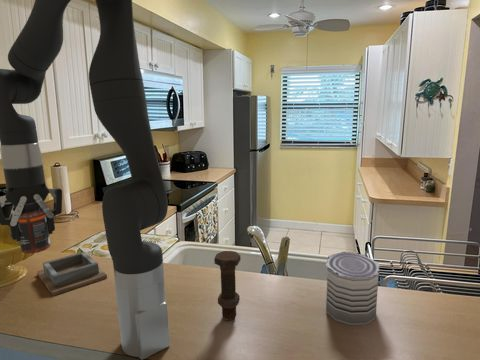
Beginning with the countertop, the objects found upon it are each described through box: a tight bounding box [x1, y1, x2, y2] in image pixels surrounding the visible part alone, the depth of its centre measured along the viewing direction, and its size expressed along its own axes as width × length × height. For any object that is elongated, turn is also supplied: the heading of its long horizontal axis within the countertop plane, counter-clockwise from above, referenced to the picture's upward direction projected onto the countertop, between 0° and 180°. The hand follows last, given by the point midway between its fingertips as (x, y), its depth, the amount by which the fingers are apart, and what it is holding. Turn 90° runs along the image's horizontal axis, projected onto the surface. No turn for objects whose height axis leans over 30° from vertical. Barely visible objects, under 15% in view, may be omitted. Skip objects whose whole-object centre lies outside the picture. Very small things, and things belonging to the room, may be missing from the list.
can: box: [325, 251, 380, 326], centre depth 81 cm, size 11×11×12 cm
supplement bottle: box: [17, 202, 51, 254], centre depth 82 cm, size 6×6×11 cm
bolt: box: [213, 250, 241, 321], centre depth 79 cm, size 6×5×15 cm
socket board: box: [36, 251, 108, 297], centre depth 102 cm, size 16×14×4 cm
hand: (34, 236), depth 82 cm, fingers closed on supplement bottle, 6 cm apart
